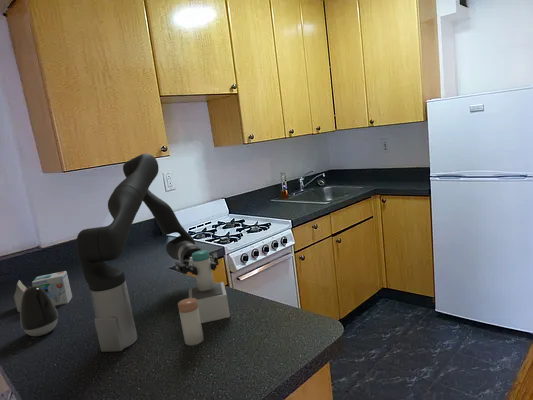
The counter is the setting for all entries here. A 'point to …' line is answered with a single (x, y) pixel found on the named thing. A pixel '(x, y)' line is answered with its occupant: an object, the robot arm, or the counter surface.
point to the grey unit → (211, 302)
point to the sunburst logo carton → (19, 294)
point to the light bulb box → (55, 287)
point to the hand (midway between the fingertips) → (205, 269)
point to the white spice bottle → (190, 321)
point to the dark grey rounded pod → (37, 312)
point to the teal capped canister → (203, 270)
